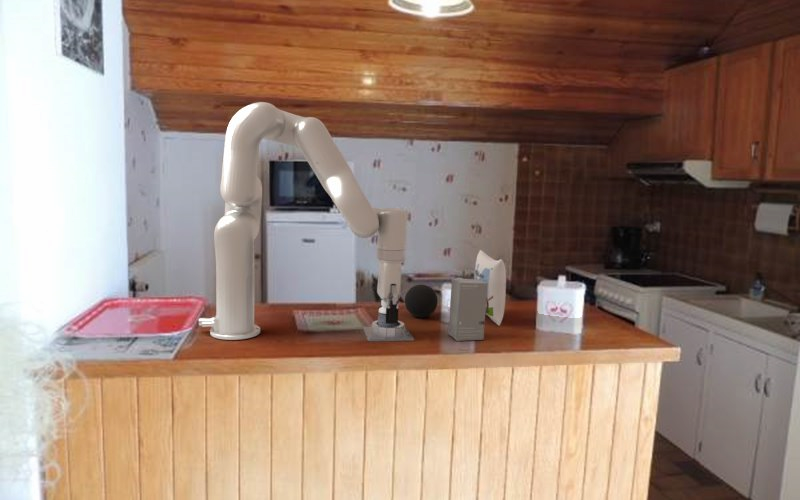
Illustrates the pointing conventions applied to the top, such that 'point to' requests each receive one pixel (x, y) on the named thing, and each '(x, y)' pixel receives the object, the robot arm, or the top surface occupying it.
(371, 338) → the plate
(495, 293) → the pouch
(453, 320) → the skincare box
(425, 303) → the speaker
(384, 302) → the pill bottle
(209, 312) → the top surface
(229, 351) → the top surface
